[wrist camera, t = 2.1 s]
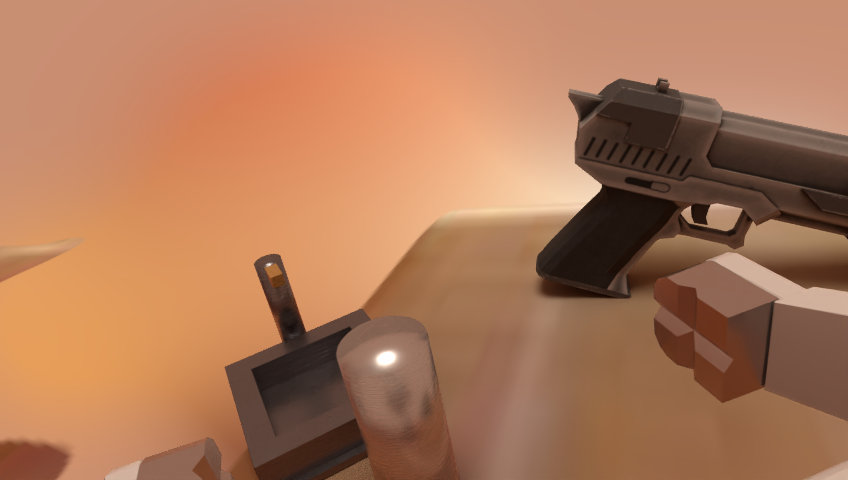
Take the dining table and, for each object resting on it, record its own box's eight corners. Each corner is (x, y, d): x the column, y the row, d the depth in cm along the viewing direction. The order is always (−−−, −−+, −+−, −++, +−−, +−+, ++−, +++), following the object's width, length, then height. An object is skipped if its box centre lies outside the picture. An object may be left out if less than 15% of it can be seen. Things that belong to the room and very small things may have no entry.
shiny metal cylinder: (383, 541, 27) (331, 382, 22) (385, 472, 30) (340, 324, 26) (466, 528, 27) (430, 366, 22) (458, 461, 30) (426, 309, 26)
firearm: (1010, 398, 37) (1207, 199, 29) (518, 275, 41) (577, 70, 33) (972, 357, 40) (1140, 169, 33) (523, 247, 44) (577, 56, 37)
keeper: (270, 507, 30) (219, 394, 26) (231, 375, 40) (190, 282, 37) (434, 421, 33) (408, 310, 29) (357, 320, 44) (331, 230, 40)
